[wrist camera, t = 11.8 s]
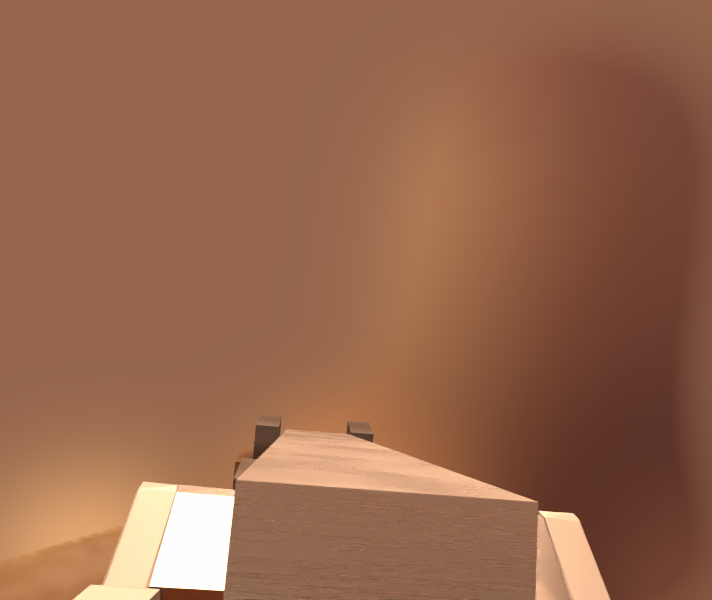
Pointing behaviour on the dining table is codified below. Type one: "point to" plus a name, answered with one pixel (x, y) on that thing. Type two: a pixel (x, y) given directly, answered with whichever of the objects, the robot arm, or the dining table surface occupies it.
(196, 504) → the robot arm
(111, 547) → the dining table surface
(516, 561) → the brushed square bar end
